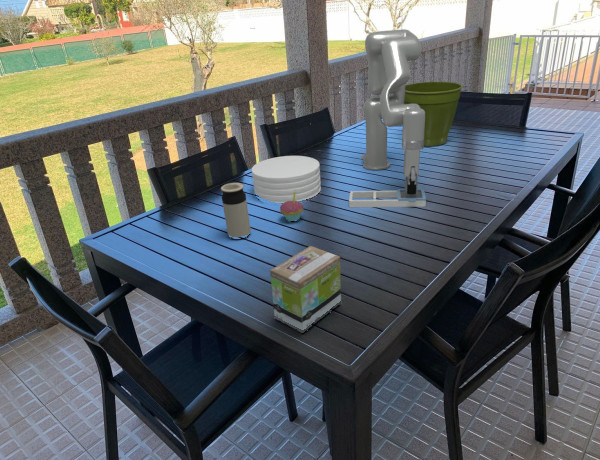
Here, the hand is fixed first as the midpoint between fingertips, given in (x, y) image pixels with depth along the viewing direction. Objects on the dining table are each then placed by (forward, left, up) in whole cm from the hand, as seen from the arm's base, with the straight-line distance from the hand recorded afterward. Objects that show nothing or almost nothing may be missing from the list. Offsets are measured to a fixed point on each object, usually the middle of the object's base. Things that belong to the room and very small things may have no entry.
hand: (410, 190), depth 167 cm
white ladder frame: (-7, -6, -4) cm, 10 cm away
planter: (0, 0, -3) cm, 3 cm away
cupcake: (-23, -40, -4) cm, 46 cm away
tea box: (+22, -73, -5) cm, 76 cm away
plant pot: (-40, +70, -4) cm, 81 cm away
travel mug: (-28, -60, -4) cm, 66 cm away
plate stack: (-46, -23, -5) cm, 51 cm away
